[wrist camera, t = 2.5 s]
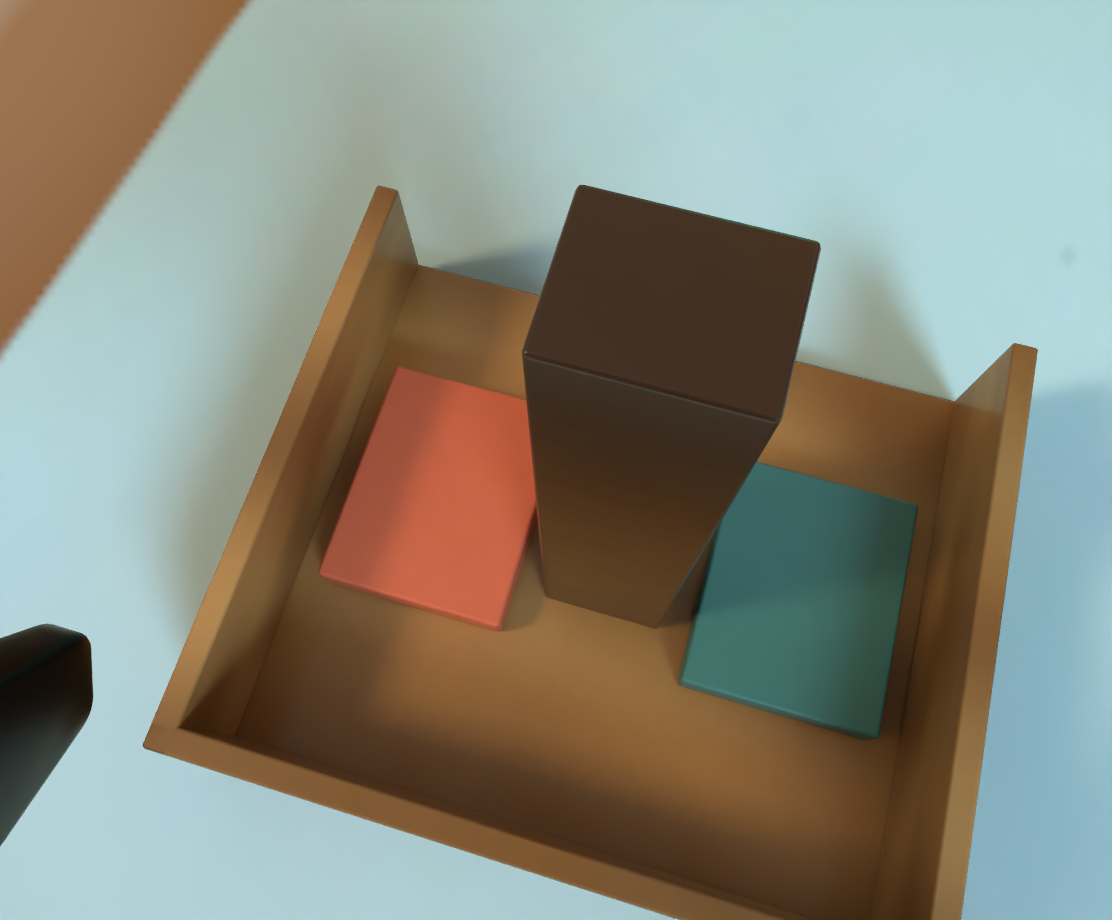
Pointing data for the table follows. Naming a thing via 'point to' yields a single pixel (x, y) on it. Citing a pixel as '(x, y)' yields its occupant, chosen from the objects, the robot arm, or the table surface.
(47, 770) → the robot arm
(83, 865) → the table surface
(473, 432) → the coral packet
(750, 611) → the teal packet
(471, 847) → the tray
